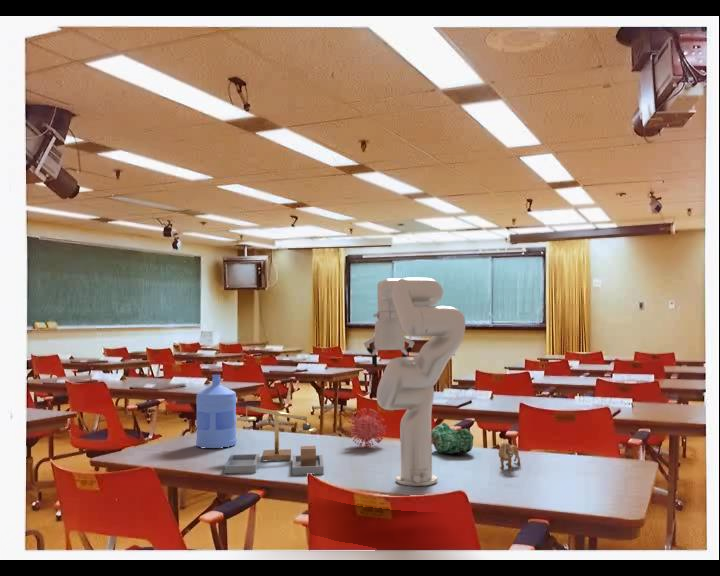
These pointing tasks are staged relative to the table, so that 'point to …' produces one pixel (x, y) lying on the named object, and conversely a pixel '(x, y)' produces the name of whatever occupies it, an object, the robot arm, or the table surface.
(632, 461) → the table surface
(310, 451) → the walnut block
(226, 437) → the water jug
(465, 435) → the mineral
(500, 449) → the lion figurine
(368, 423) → the virus model
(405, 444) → the robot arm
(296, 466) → the dish low side
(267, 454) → the balance
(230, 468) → the dish high side
